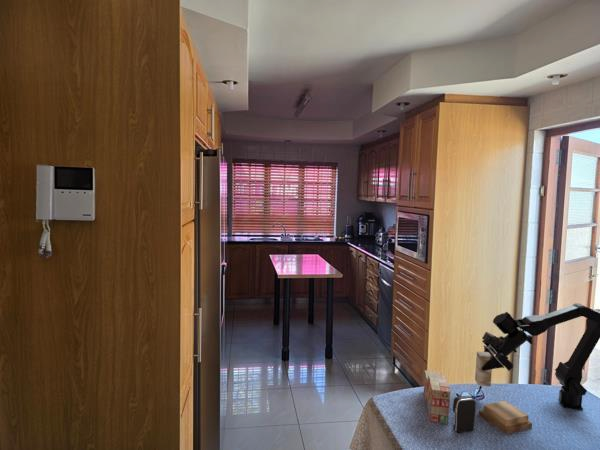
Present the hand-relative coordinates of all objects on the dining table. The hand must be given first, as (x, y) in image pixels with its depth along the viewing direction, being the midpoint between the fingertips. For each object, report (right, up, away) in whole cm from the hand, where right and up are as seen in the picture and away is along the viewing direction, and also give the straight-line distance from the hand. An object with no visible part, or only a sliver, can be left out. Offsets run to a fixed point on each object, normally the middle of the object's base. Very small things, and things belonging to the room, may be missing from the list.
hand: (480, 366), depth 156 cm
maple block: (+2, -12, -15) cm, 20 cm away
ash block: (+1, -7, 0) cm, 7 cm away
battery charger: (-15, -14, -20) cm, 29 cm away
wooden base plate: (+2, -15, -15) cm, 21 cm away
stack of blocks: (-20, -13, -6) cm, 25 cm away
